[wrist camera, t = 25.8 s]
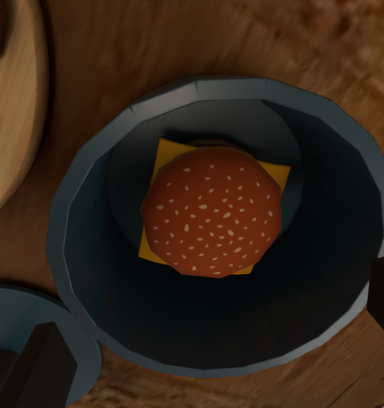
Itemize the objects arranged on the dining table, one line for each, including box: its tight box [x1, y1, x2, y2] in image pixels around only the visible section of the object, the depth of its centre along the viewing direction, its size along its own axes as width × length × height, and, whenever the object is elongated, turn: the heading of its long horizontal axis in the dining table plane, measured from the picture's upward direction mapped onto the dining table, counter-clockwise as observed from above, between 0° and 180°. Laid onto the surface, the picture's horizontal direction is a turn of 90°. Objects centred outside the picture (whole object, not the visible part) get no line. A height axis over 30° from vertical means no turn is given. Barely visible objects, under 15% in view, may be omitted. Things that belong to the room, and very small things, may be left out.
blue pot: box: [46, 75, 384, 378], centre depth 19 cm, size 17×17×10 cm
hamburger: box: [138, 138, 291, 278], centre depth 20 cm, size 9×10×7 cm
